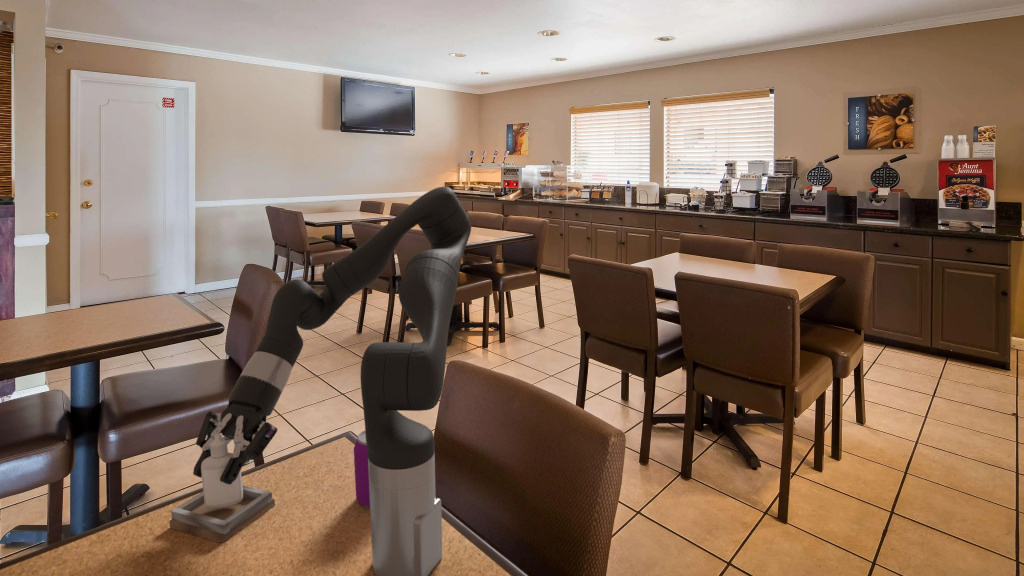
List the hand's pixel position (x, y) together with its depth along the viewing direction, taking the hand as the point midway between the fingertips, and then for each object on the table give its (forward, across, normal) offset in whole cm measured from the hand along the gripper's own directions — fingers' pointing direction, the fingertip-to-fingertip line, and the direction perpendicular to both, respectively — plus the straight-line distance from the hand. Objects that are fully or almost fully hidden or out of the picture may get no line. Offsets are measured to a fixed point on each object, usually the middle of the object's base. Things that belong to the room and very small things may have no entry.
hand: (211, 479), depth 91 cm
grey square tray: (+4, 0, -6) cm, 8 cm away
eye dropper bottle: (+2, 0, -5) cm, 6 cm away
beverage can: (-5, -21, -16) cm, 27 cm away
